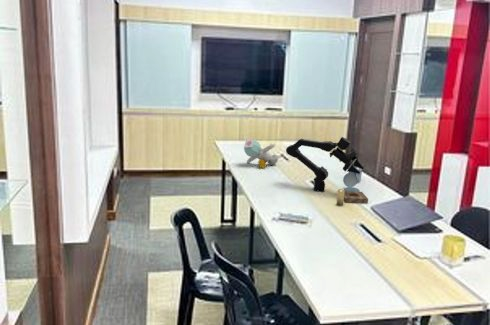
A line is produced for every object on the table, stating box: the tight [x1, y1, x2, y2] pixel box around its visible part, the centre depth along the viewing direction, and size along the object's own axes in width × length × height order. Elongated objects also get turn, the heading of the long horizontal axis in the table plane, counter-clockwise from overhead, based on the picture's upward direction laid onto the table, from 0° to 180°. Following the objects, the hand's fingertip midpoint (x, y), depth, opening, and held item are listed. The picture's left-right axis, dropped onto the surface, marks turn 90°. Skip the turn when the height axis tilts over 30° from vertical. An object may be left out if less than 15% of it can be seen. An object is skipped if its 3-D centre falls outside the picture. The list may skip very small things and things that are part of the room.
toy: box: [243, 138, 279, 170], centre depth 342 cm, size 32×18×30 cm
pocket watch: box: [342, 172, 361, 192], centre depth 294 cm, size 10×11×15 cm
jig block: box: [344, 191, 369, 204], centre depth 279 cm, size 14×14×3 cm
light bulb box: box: [348, 166, 363, 184], centre depth 319 cm, size 11×7×11 cm, turn 149°
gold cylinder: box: [335, 189, 345, 207], centre depth 268 cm, size 4×4×9 cm
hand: (361, 170), depth 280 cm, fingers open, 9 cm apart
